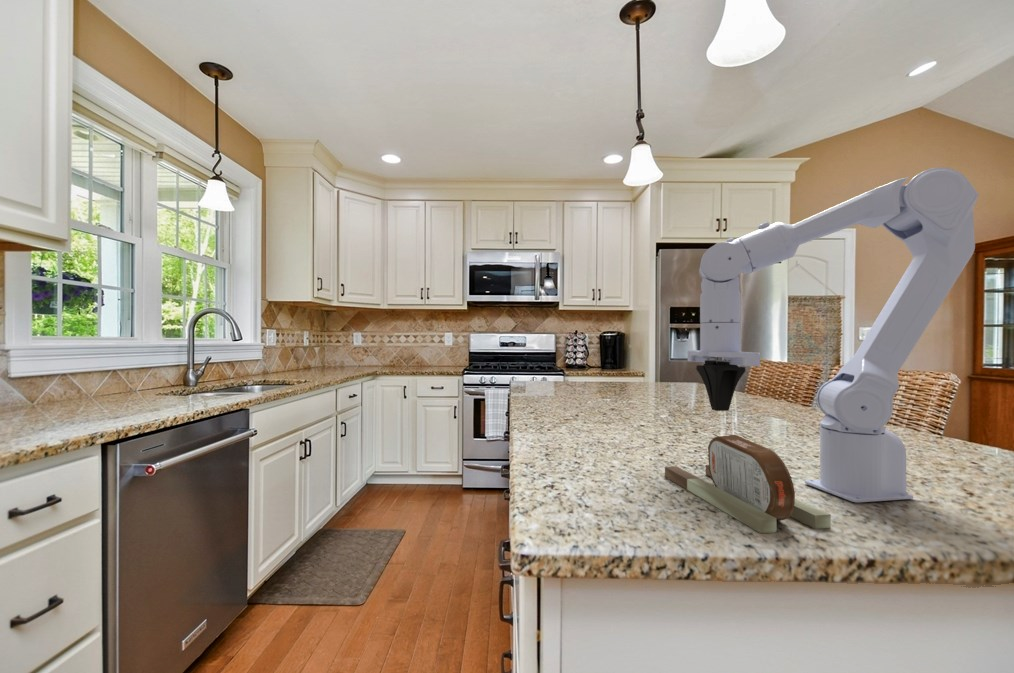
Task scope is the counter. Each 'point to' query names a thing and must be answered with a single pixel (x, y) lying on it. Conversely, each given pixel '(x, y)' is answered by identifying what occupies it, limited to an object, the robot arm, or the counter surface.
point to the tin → (752, 475)
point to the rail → (744, 504)
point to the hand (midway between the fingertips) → (720, 410)
